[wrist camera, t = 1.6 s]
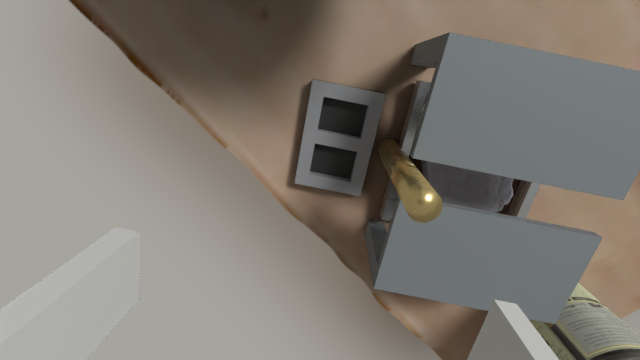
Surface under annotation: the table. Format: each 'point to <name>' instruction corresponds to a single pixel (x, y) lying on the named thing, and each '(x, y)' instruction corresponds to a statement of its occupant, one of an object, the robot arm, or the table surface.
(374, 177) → the table surface
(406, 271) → the gray split-top stand
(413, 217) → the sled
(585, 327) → the coffee can
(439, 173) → the stone block
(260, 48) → the table surface
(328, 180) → the pit board
